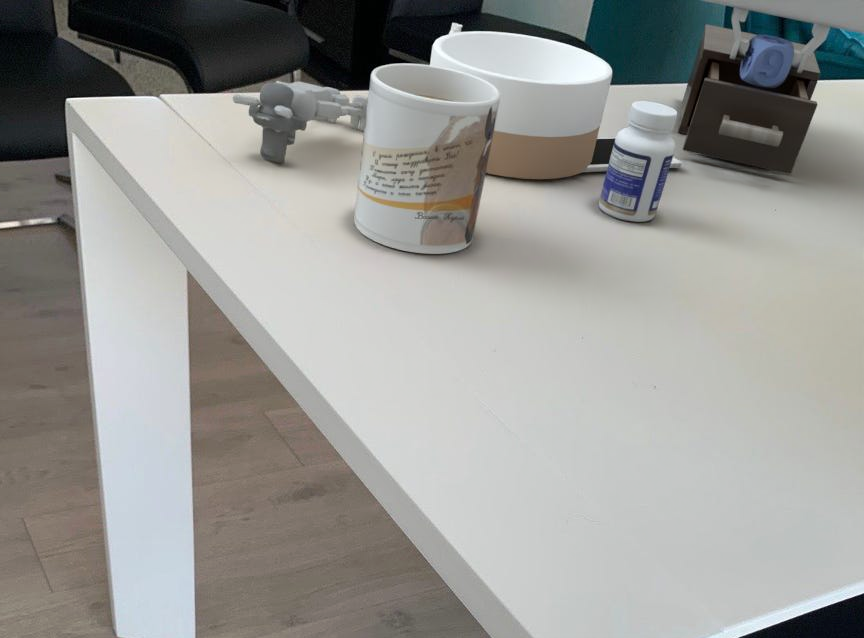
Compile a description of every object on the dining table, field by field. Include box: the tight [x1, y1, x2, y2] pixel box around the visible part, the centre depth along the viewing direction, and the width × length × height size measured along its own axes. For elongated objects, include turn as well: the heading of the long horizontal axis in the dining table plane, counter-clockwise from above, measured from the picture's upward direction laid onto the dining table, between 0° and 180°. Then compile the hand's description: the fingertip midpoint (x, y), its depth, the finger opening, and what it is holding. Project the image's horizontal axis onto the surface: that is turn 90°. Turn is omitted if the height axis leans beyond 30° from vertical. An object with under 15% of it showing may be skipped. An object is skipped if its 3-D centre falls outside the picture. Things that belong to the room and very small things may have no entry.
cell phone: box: [582, 136, 682, 173], centre depth 104 cm, size 8×16×1 cm, turn 118°
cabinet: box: [677, 24, 821, 136], centre depth 118 cm, size 15×13×9 cm
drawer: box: [682, 59, 818, 175], centre depth 108 cm, size 18×11×7 cm, turn 165°
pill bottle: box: [598, 100, 678, 223], centre depth 91 cm, size 5×5×9 cm
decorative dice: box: [740, 34, 794, 88], centre depth 106 cm, size 4×4×4 cm
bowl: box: [429, 30, 613, 180], centre depth 99 cm, size 17×17×8 cm
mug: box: [353, 62, 501, 255], centre depth 80 cm, size 10×12×11 cm
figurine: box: [232, 80, 368, 164], centre depth 94 cm, size 7×6×18 cm
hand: (764, 65), depth 107 cm, fingers closed on decorative dice, 4 cm apart
